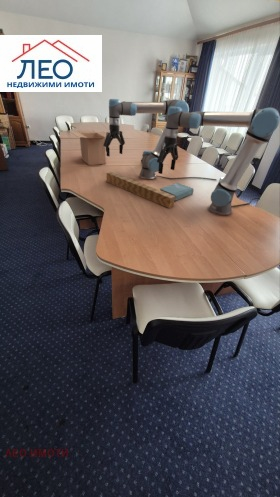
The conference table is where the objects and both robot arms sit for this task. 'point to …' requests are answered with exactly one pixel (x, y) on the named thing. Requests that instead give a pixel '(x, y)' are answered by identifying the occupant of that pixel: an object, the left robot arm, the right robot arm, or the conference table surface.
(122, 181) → the post
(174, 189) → the book
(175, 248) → the conference table surface
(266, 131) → the right robot arm
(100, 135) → the box
